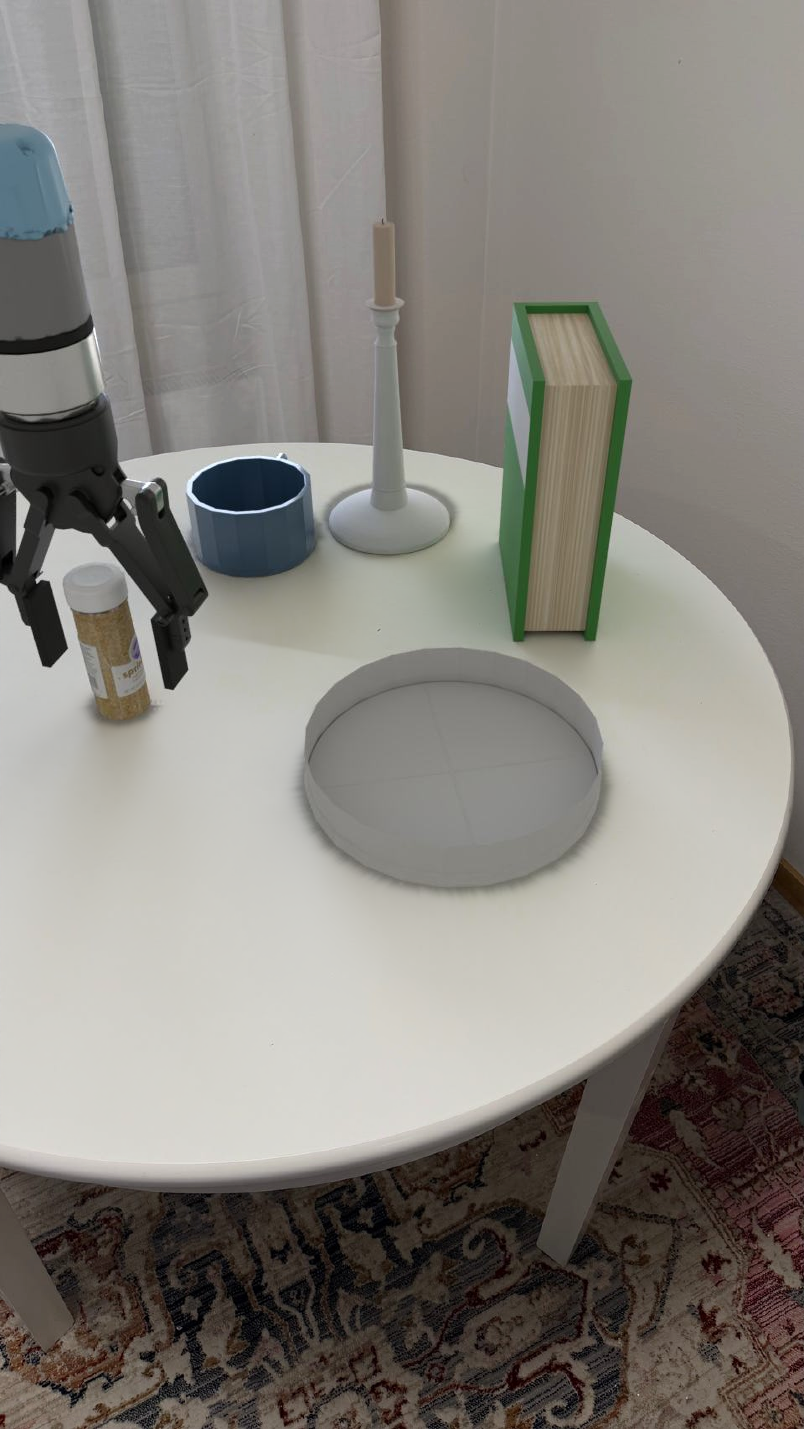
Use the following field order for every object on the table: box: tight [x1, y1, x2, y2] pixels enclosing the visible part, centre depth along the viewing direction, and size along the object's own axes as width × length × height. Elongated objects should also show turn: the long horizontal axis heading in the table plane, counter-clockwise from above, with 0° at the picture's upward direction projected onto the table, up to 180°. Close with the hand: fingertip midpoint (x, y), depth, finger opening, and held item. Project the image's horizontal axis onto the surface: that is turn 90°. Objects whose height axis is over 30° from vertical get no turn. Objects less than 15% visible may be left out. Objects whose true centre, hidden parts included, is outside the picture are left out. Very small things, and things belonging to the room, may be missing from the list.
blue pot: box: [185, 452, 316, 578], centre depth 103 cm, size 15×12×7 cm
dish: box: [303, 647, 604, 888], centre depth 75 cm, size 22×22×5 cm
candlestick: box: [328, 218, 451, 555], centre depth 97 cm, size 13×13×30 cm
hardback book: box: [498, 301, 633, 642], centre depth 90 cm, size 18×7×24 cm, turn 0°
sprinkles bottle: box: [62, 561, 151, 721], centre depth 79 cm, size 5×5×13 cm
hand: (115, 668), depth 80 cm, fingers open, 10 cm apart
